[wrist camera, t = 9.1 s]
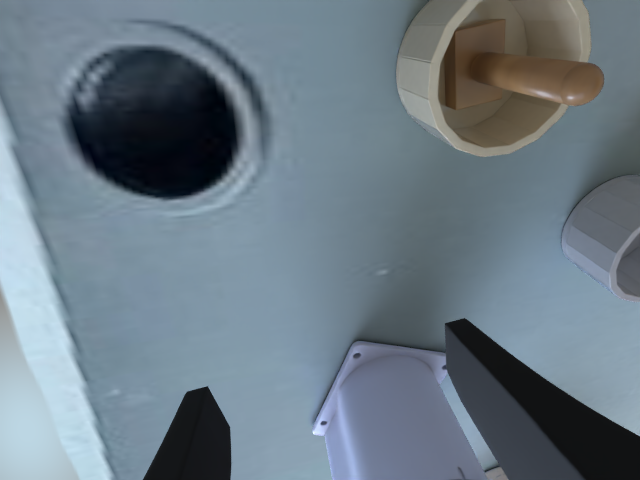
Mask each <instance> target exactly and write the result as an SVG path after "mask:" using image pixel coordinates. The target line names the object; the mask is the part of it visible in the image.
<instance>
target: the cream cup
mask: <svg viewBox="0 0 640 480" xmlns="http://www.w3.org/2000/svg"><path fill="white" fill-rule="evenodd" d="M490 19H506V26H505V47H504V54H514V55H523V56H532V57H541V58H551V59H560V60H569V61H578V62H588V60H589V56H590V52H591V34H590V21H589V13H588V10H587V8H586V7H585V5H584V3H583V1H582V0H430V1H429V2H428V3H427V4H426V5H425V6H424V7H423V8H422V9H421V10H420V11H419V13H418V14H417V15H416V17H415V18H414V19H413V21H412V22H411V24H410V26H409V28H408V29H407V31H406V34H405V36H404V38H403V40H402V44H401V47H400V50H399V54H398V59H397V68H396V81H397V88H398V92H399V96H400V99H401V101H402V104H403V106H404V108H405V109H406V111H407V113H408V114H409V115H410V117H411V118H412V119H413V120H414V121H415V122H416V123H418V124H419V125H420V126H421V127H422V128H423V129H424V130H426V131H427V132H429V133H431V134H432V135H434V136H436V137H437V138H439V139H441V140H442V141H444V142H446V143H447V144H449V145H451V146H452V147H454V148H456V149H458V150H461V151H464V152H467V153H470V154H473V155H476V156H479V157H487V156H495V155H503V154H510V153H512V152H514V151H516V150H518V149H520V148H522V147H524V146H526V145H528V144H530V143H532V142H534V141H536V140H537V139H539V138H540V137H541V136H542V135H543V134H544V133H545V132H546V131H547V130H548V129H549V128H550V127H551V126H553V125H554V124H555V123H556V122H557V121H558V120H559V119H560V118H561V117H562V116H563V114H564V113H565V112H566V110H567V108H568V106H569V105H566V104H562V103H558V102H554V101H550V100H546V99H542V98H538V97H534V96H530V95H526V94H522V93H518V92H514V91H510V90H506V89H502V99H500V100H496V101H492V102H488V103H484V104H480V105H476V106H472V107H468V108H464V109H459V110H454V109H452V108H449V107H447V106H446V102H445V64H444V54H445V52H446V50H447V47H448V45H449V43H450V40H451V38H452V36H453V33H454V31H455V30H456V29H457V27H461V26H465V25H469V24H474V23H478V22H482V21H486V20H490Z"/></svg>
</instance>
